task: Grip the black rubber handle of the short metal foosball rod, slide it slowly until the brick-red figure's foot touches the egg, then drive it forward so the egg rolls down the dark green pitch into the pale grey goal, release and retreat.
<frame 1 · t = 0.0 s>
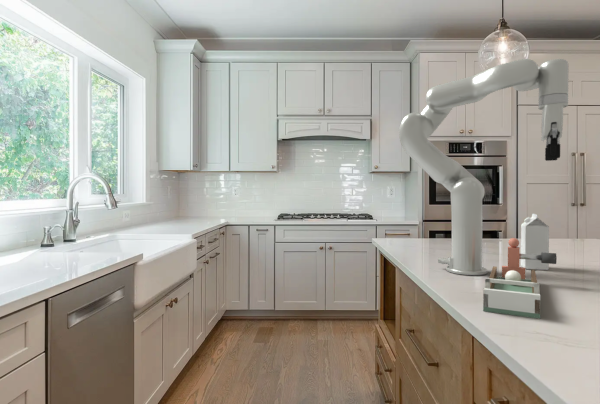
hand: (552, 159, 117), 37 cm above the countertop, tool pointing down, fingers open, 9 cm apart
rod: (528, 258, 113), point 7 cm above the countertop, slide at 0.0 cm
milk carton: (534, 268, 136), on the countertop
egg: (513, 277, 108), point 3 cm above the countertop, touching pitch
goal: (511, 309, 89), resting on pitch
pitch: (512, 295, 101), on the countertop
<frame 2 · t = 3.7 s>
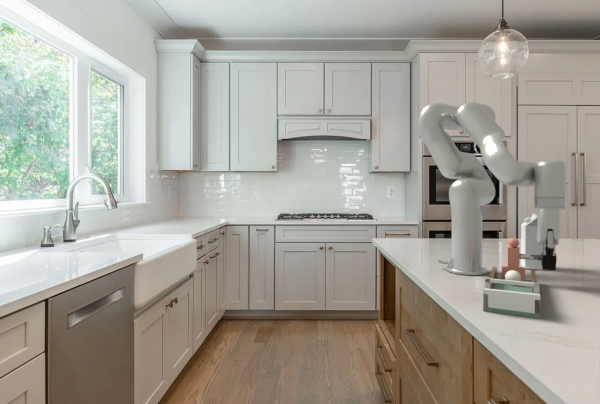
hand: (548, 267, 110), 5 cm above the countertop, tool pointing down, fingers closed on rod, 3 cm apart
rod: (528, 258, 113), point 7 cm above the countertop, slide at 0.0 cm, touching gripper
everything else where it was.
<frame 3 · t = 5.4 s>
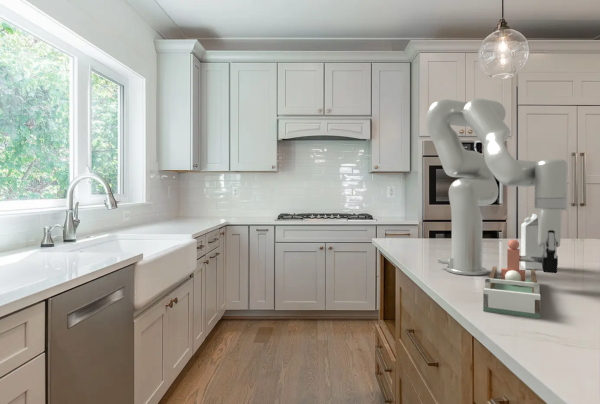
hand: (549, 270, 106), 5 cm above the countertop, tool pointing down, fingers closed on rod, 3 cm apart
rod: (528, 261, 109), point 7 cm above the countertop, slide at 4.3 cm, touching gripper
everything else where it was.
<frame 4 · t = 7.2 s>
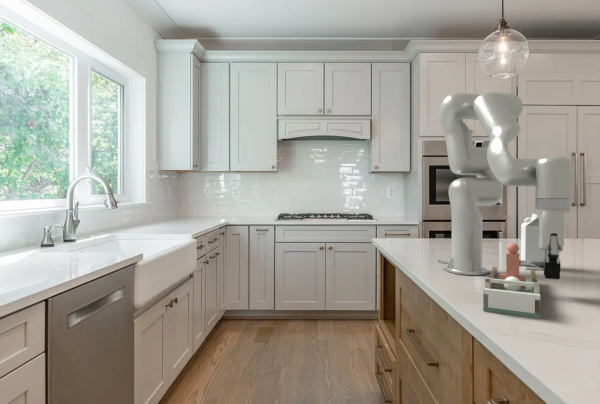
hand: (551, 276, 99), 5 cm above the countertop, tool pointing down, fingers closed on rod, 3 cm apart
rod: (529, 266, 102), point 7 cm above the countertop, slide at 12.6 cm, touching gripper
egg: (512, 284, 100), point 3 cm above the countertop, tilted 108°, touching pitch
everything else where it was.
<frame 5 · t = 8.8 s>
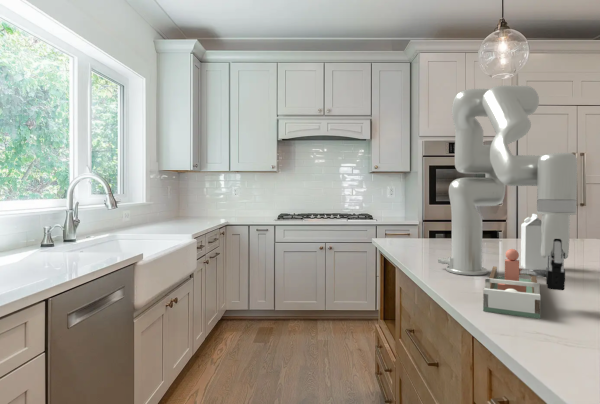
hand: (555, 286, 89), 5 cm above the countertop, tool pointing down, fingers closed on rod, 3 cm apart
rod: (530, 274, 91), point 7 cm above the countertop, slide at 24.6 cm, touching gripper
egg: (511, 297, 88), point 3 cm above the countertop, tilted 60°, touching pitch
everything else where it was.
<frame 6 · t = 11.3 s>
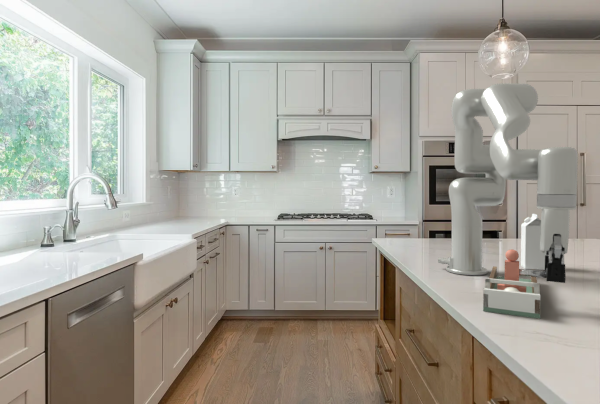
hand: (554, 276, 89), 8 cm above the countertop, tool pointing down, fingers open, 9 cm apart
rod: (530, 275, 91), point 7 cm above the countertop, slide at 25.5 cm
egg: (511, 295, 90), point 3 cm above the countertop, tilted 110°, touching pitch
everything else where it was.
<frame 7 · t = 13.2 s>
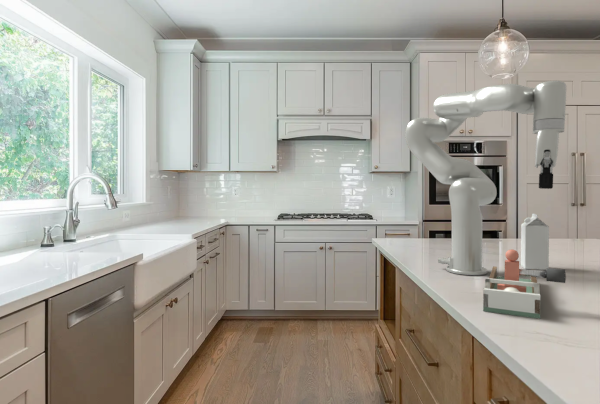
hand: (545, 188, 109), 28 cm above the countertop, tool pointing down, fingers open, 9 cm apart
nothing on the countertop moved.
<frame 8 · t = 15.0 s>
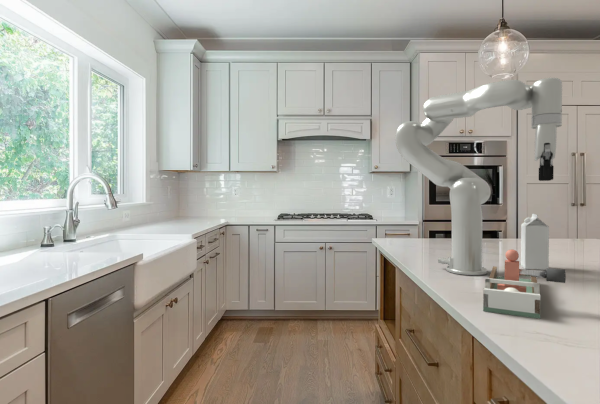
hand: (545, 180, 114), 30 cm above the countertop, tool pointing down, fingers open, 9 cm apart
egg: (511, 296, 89), point 3 cm above the countertop, tilted 96°, touching pitch
everything else where it was.
at the end: egg inside the target area (2.0 cm from its centre), point 3.0 cm above the countertop; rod slide at 25.5 cm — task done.
